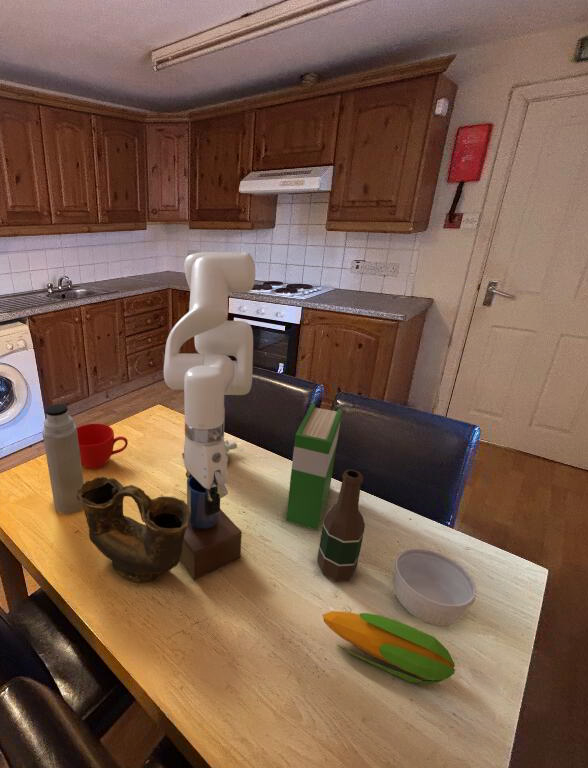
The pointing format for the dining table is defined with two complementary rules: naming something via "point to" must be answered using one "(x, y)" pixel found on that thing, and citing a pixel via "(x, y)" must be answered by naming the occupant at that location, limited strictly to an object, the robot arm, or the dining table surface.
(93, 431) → the ceramic cup
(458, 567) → the ramekin
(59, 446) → the thermos bottle
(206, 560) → the box
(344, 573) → the beer bottle
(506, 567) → the dining table surface
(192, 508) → the cup
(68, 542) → the dining table surface
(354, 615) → the corn
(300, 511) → the hardback book
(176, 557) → the pottery vessel
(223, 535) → the box lid
